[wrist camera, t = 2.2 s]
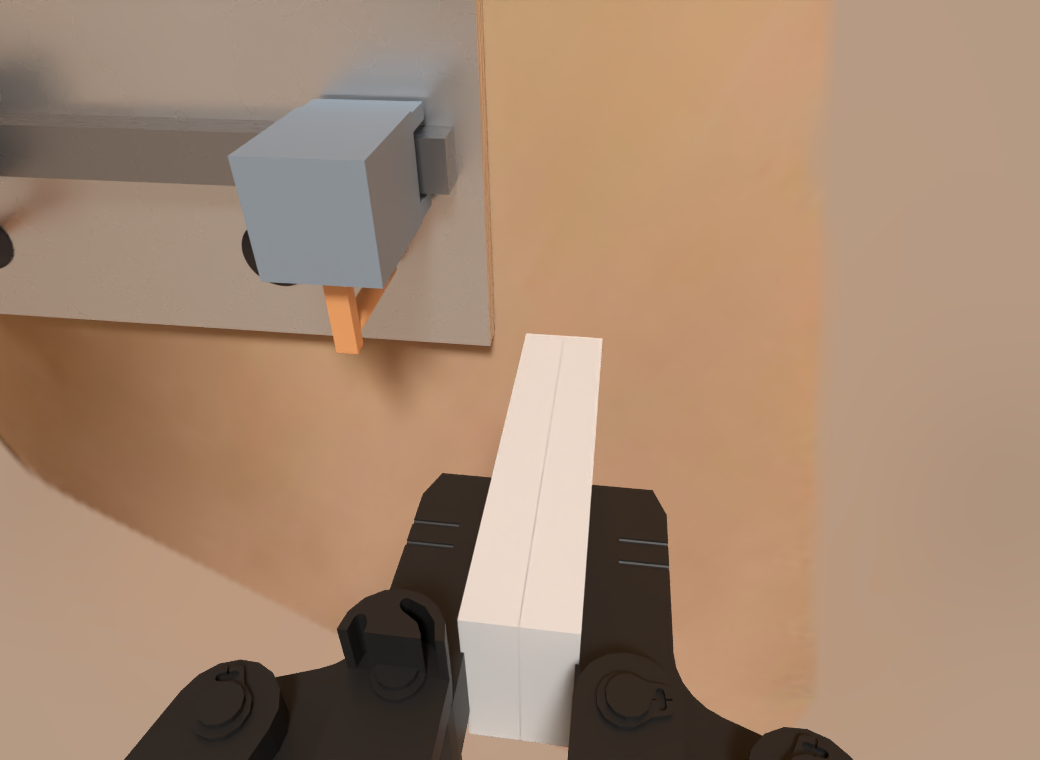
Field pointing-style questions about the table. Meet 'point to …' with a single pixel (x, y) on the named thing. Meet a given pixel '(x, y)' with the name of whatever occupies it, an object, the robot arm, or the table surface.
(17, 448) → the table surface
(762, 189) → the table surface
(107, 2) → the bolt plate
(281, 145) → the slider
